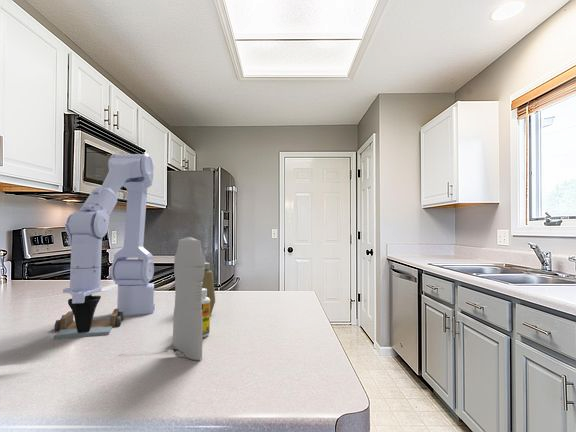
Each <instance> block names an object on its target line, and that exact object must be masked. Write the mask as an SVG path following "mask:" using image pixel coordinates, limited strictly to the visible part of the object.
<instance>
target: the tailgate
mask: <svg viewBox="0 0 576 432" xmlns="http://www.w3.org/2000/svg"><path fill="white" fill-rule="evenodd" d="M112 329H113V327H112V326H107V327H92V328H90V331H89V332H80V333H78V332H77V329H64V330H60V331H57V333H55V334H54V336H53V339H54V340H57V339H71V338H73V339H74V338H83V337H85V338H86V337H97V336H99V337H100V336H107V335H108V336H109V335H110V333H111V331H112Z"/></svg>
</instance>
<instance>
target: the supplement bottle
mask: <svg viewBox="0 0 576 432" xmlns="http://www.w3.org/2000/svg"><path fill="white" fill-rule="evenodd" d="M206 296H207V289H205V288H202V318H203V332H202V339H203V338H205V337H208V336H209V335H210V329H211V328H210V326H211V325H210V324H211V323H210V322H211V314H210V298H208V297H206Z"/></svg>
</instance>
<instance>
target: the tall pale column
mask: <svg viewBox="0 0 576 432" xmlns="http://www.w3.org/2000/svg"><path fill="white" fill-rule="evenodd" d="M202 250H203V249H202V243H201V239H200V240H199V239H196V238H194V237H190V236H189V237H185V238H182V239H178V243H177V250H176V253H175V255H174V265H173V273H174V277H175V278H174V280H175V281H174V283H175V288H174V289H175V291H174V294H175V295H174V309H173V317H172V318H173V321H172V322H173V323H172V324H173V325H172V345H173V346H174V347H175V348H173V349H172V351H173V352H174V351H175V352H174V353H175V357H178V358H184V359H187V358H188V360H190V361H196V362H198V361H199V362H200V361H203V338H202V332H203V318H202V285H203V283H202V280H203V278H204V268H205V259H206V257H205V258H204V257H203V255H202Z"/></svg>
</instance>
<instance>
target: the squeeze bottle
mask: <svg viewBox="0 0 576 432" xmlns="http://www.w3.org/2000/svg"><path fill="white" fill-rule="evenodd" d="M201 250H202V255H203V257H204V258H205V268H204V278H203V280H202V283H203V285H202V288H205V289H207V296H206V297H208V298H210V315H212V312H213V310H214V306H215V303H216V294H215V284H214V283H215V282H214V280H215V279H214V272H213V271H212V270H210V269H211V268H210V267H211V264H210V262H207V259H206V255H205V254H206V253H205V250H204V249H201Z"/></svg>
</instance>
